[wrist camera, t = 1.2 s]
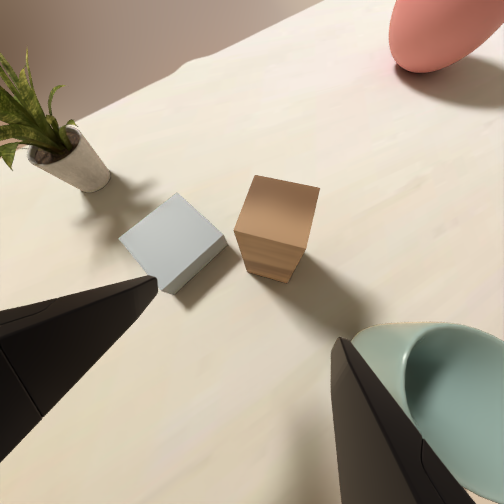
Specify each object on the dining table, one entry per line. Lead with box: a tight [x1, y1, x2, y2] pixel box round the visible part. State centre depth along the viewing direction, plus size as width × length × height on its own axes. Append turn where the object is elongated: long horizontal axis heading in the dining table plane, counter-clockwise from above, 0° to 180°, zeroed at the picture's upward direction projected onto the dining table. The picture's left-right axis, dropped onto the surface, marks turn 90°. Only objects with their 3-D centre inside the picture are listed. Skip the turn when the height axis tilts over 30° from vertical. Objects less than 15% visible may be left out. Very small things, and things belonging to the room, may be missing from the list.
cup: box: [351, 322, 504, 504], centre depth 14 cm, size 8×8×10 cm
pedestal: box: [118, 193, 228, 295], centre depth 24 cm, size 9×9×3 cm
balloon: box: [389, 0, 504, 73], centre depth 28 cm, size 15×20×15 cm
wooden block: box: [234, 175, 320, 283], centre depth 19 cm, size 5×5×11 cm
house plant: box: [0, 51, 110, 192], centre depth 23 cm, size 14×14×16 cm
